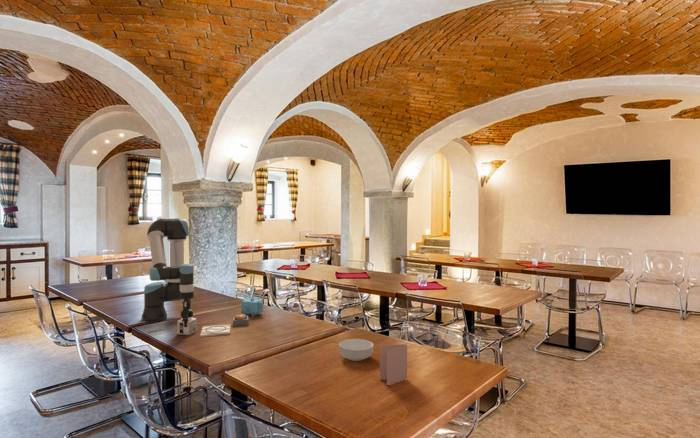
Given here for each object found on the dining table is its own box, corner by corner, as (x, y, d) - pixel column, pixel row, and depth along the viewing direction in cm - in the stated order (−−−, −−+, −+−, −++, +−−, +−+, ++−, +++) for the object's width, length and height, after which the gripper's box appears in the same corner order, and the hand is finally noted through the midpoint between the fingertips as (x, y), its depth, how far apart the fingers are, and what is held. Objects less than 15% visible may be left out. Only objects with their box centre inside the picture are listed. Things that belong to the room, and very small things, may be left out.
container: (189, 335, 240) (189, 312, 239) (177, 334, 241) (176, 311, 241) (196, 331, 247) (196, 309, 247) (184, 330, 249) (184, 308, 248)
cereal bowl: (362, 367, 193) (362, 352, 192) (332, 360, 201) (332, 345, 201) (379, 356, 207) (379, 342, 207) (350, 350, 216) (350, 336, 215)
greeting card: (406, 378, 180) (406, 343, 180) (409, 386, 173) (409, 349, 172) (379, 379, 180) (379, 344, 179) (381, 386, 172) (381, 350, 172)
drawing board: (202, 327, 254) (202, 325, 254) (230, 326, 258) (230, 323, 258) (200, 336, 237) (200, 334, 237) (229, 334, 241) (229, 332, 241)
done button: (235, 318, 265) (235, 314, 265) (245, 318, 267) (245, 314, 267) (235, 321, 260) (235, 317, 260) (245, 320, 261) (245, 316, 261)
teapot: (235, 316, 280) (235, 299, 280) (251, 310, 297) (251, 294, 297) (255, 319, 274) (255, 301, 274) (270, 312, 291) (270, 296, 291)
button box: (233, 322, 267) (233, 316, 266) (248, 321, 269) (248, 315, 269) (233, 326, 258) (233, 320, 258) (248, 325, 260) (248, 319, 260)
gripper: (191, 295, 234) (191, 335, 234) (195, 287, 255) (196, 323, 256) (176, 295, 232) (177, 336, 232) (182, 287, 254) (182, 324, 254)
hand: (187, 329), depth 244 cm, fingers closed on container, 10 cm apart
